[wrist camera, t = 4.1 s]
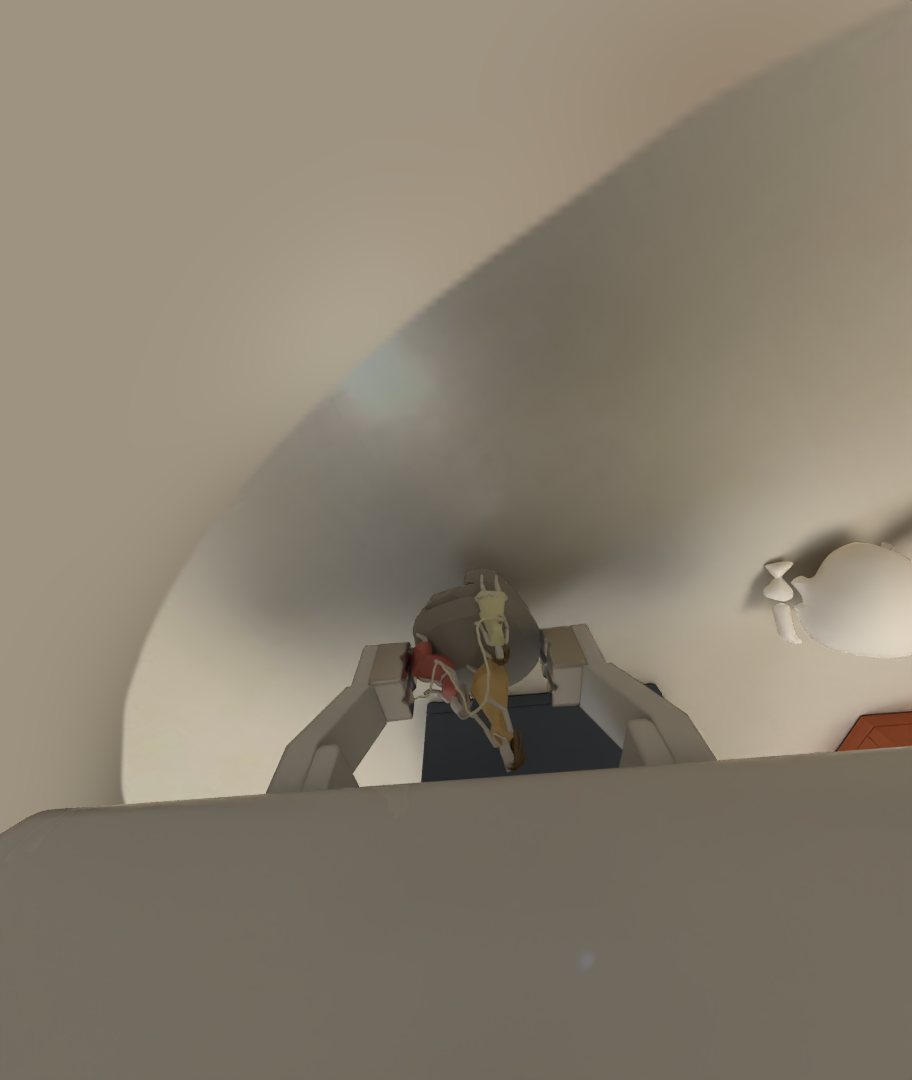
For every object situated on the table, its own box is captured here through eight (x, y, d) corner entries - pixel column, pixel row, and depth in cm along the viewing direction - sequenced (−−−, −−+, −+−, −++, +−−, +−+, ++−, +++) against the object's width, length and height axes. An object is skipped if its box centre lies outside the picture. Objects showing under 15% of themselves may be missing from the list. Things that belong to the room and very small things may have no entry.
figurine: (513, 658, 15) (547, 828, 9) (413, 649, 14) (388, 819, 9) (543, 556, 12) (613, 710, 7) (422, 543, 12) (396, 693, 6)
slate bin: (427, 703, 17) (416, 839, 12) (655, 683, 17) (742, 819, 12) (454, 814, 23) (455, 940, 18) (628, 802, 22) (679, 929, 17)
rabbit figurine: (768, 513, 12) (1204, 490, 8) (744, 525, 16) (1045, 513, 12) (779, 678, 12) (1245, 742, 8) (752, 654, 15) (1068, 689, 11)
